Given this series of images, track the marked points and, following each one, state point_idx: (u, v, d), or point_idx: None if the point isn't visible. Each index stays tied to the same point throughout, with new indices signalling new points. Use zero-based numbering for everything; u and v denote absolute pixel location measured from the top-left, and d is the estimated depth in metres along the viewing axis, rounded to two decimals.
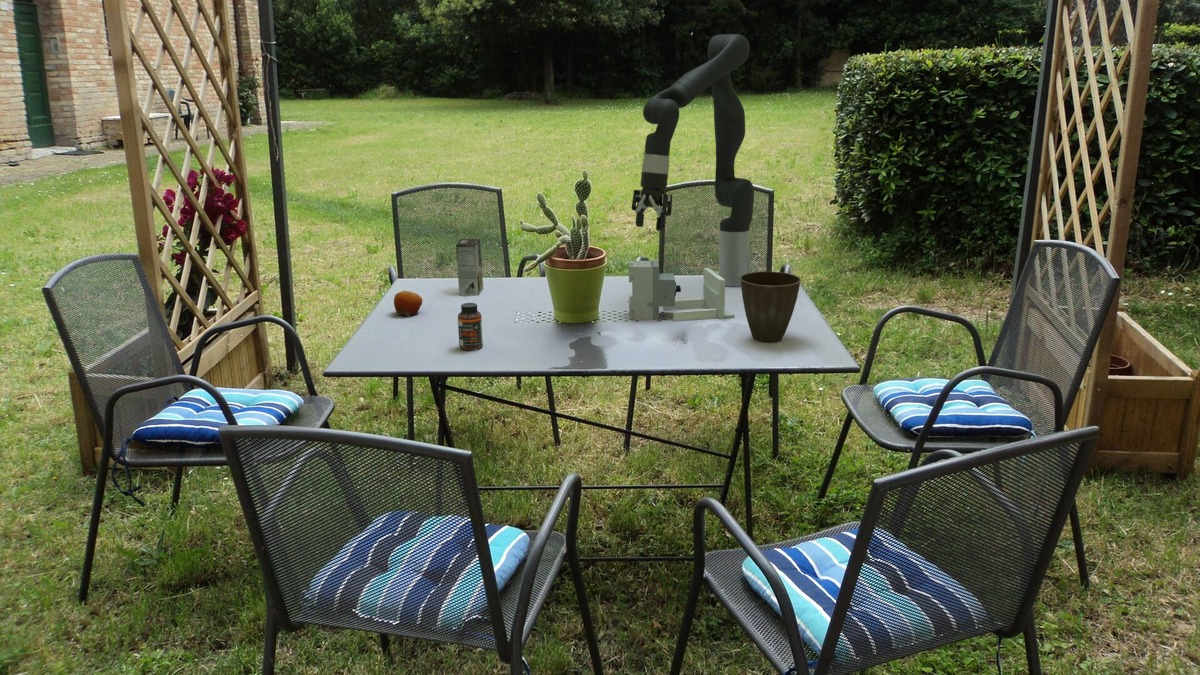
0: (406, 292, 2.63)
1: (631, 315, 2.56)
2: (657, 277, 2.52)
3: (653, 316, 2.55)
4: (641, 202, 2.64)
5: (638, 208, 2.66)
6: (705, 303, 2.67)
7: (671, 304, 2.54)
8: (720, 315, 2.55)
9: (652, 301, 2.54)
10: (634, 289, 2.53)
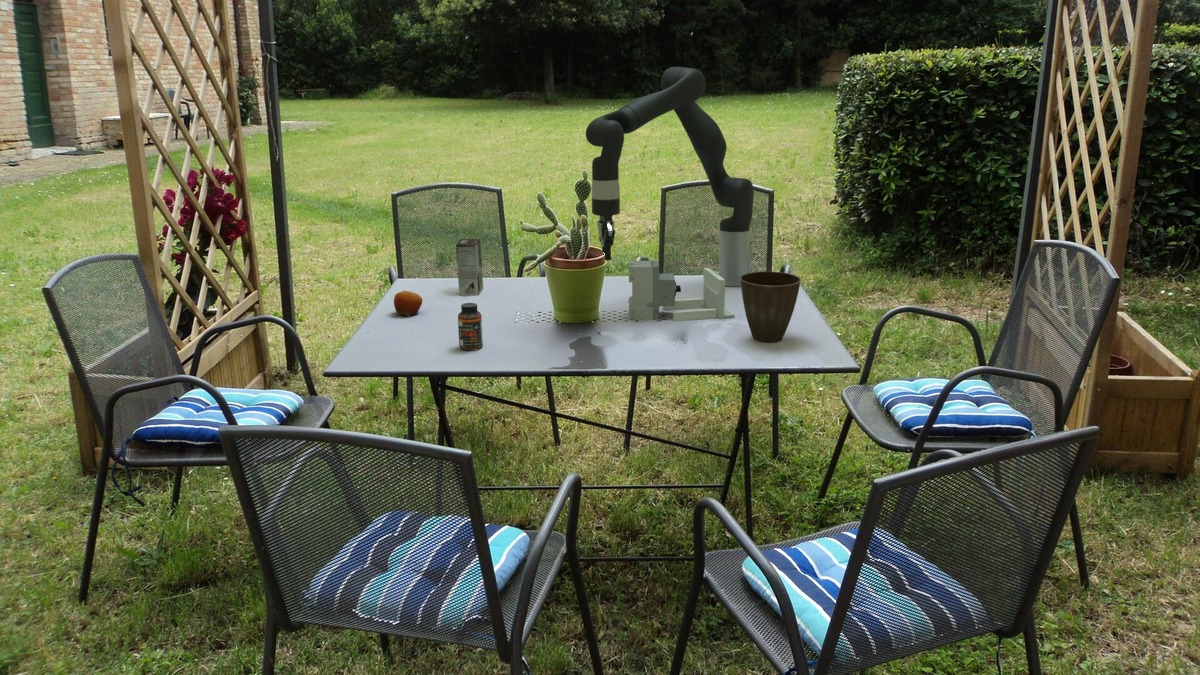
0: (407, 292, 2.63)
1: (631, 315, 2.56)
2: (657, 277, 2.52)
3: (653, 316, 2.55)
4: (599, 231, 2.50)
5: (601, 241, 2.50)
6: (705, 303, 2.67)
7: (671, 304, 2.54)
8: (720, 315, 2.55)
9: (652, 301, 2.54)
10: (634, 289, 2.53)
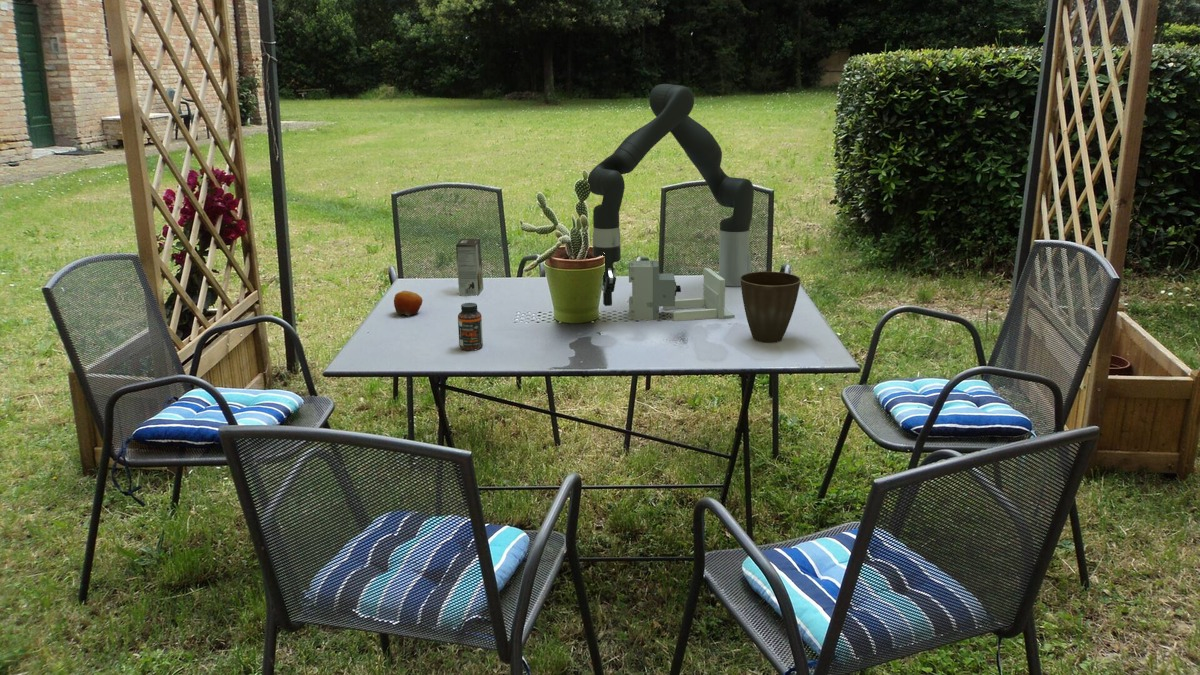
0: (407, 292, 2.63)
1: (631, 315, 2.56)
2: (657, 277, 2.52)
3: (653, 316, 2.55)
4: None
5: (602, 286, 2.54)
6: (705, 303, 2.67)
7: (671, 304, 2.54)
8: (720, 315, 2.55)
9: (652, 301, 2.54)
10: (634, 289, 2.53)
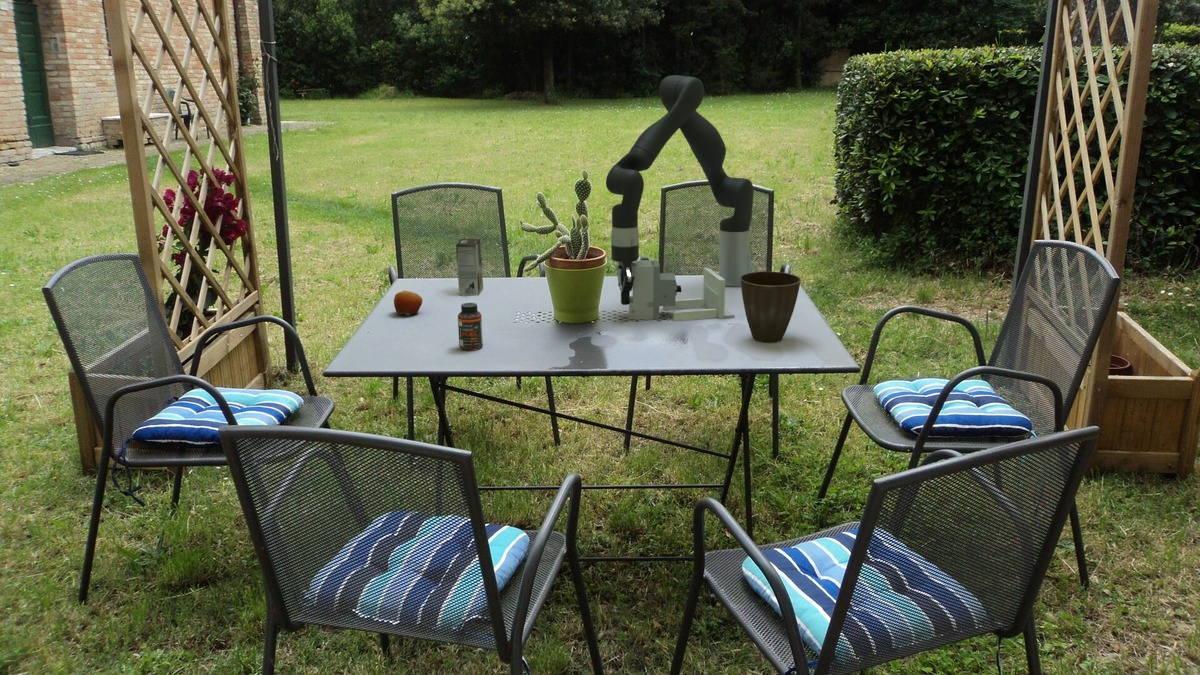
0: (407, 292, 2.63)
1: (631, 315, 2.56)
2: (658, 277, 2.52)
3: (654, 316, 2.55)
4: (618, 276, 2.55)
5: (620, 285, 2.55)
6: (705, 303, 2.67)
7: (671, 304, 2.54)
8: (720, 315, 2.55)
9: (652, 301, 2.54)
10: (634, 288, 2.53)
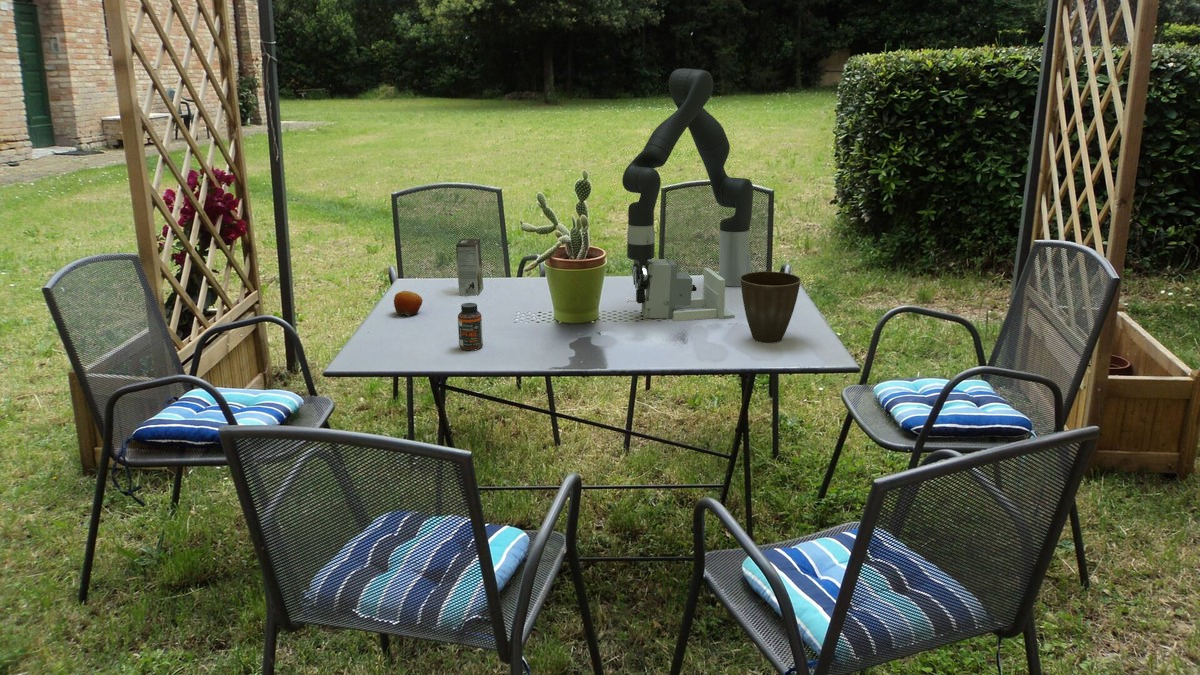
0: (406, 292, 2.63)
1: (647, 313, 2.56)
2: (675, 276, 2.53)
3: (669, 315, 2.56)
4: (633, 274, 2.55)
5: (636, 284, 2.56)
6: (705, 303, 2.67)
7: (687, 303, 2.56)
8: (720, 315, 2.55)
9: (668, 299, 2.55)
10: (651, 287, 2.53)
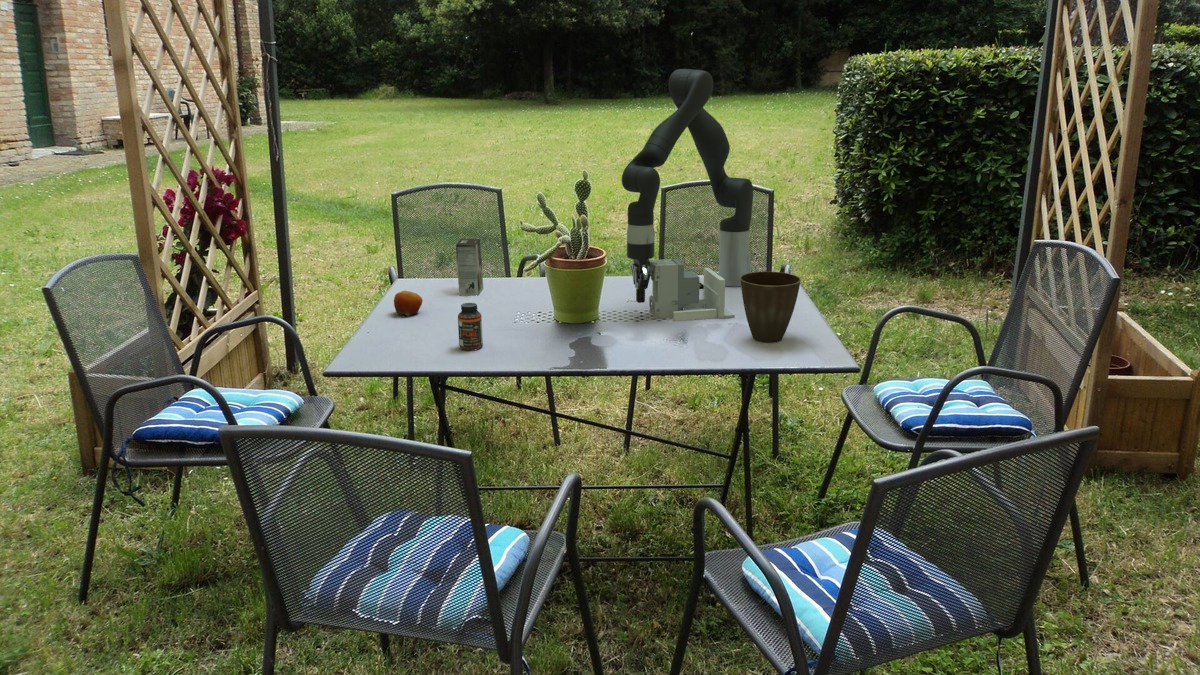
0: (406, 292, 2.63)
1: (656, 314, 2.56)
2: (682, 275, 2.54)
3: None
4: (633, 273, 2.55)
5: (636, 283, 2.55)
6: (705, 303, 2.67)
7: (695, 301, 2.57)
8: (720, 315, 2.55)
9: (677, 299, 2.56)
10: (659, 288, 2.54)
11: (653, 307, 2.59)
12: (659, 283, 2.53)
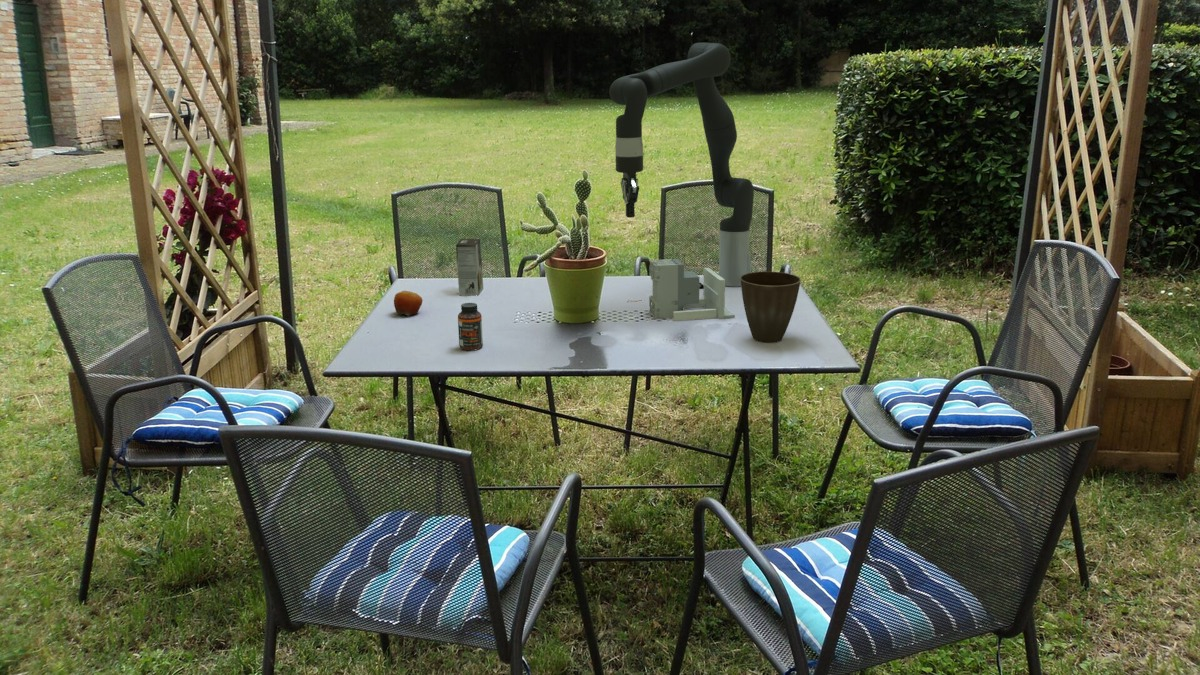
0: (407, 292, 2.63)
1: (656, 314, 2.56)
2: (682, 275, 2.54)
3: None
4: (623, 188, 2.55)
5: (625, 198, 2.56)
6: (705, 303, 2.67)
7: (695, 301, 2.57)
8: (720, 315, 2.55)
9: (677, 299, 2.56)
10: (659, 288, 2.54)
11: (653, 307, 2.59)
12: (659, 283, 2.53)
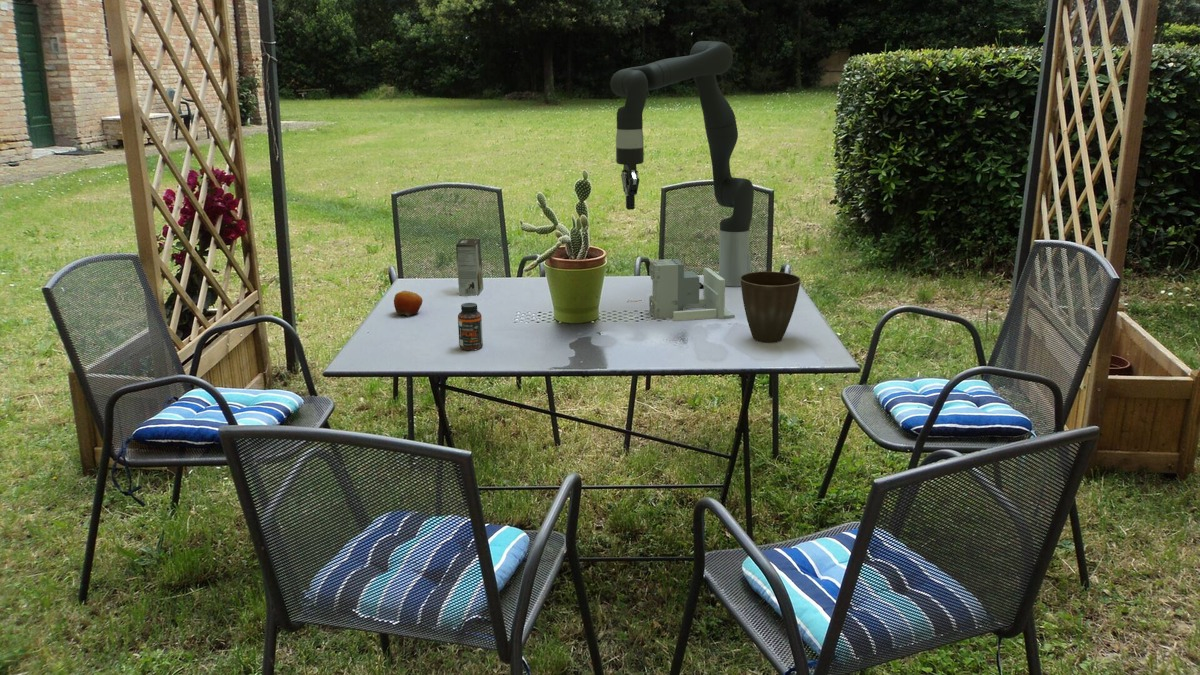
0: (407, 292, 2.63)
1: (656, 314, 2.56)
2: (682, 275, 2.54)
3: None
4: (623, 180, 2.56)
5: (625, 190, 2.56)
6: (705, 303, 2.67)
7: (695, 301, 2.57)
8: (720, 315, 2.55)
9: (677, 299, 2.56)
10: (659, 288, 2.54)
11: (653, 307, 2.59)
12: (659, 283, 2.53)
